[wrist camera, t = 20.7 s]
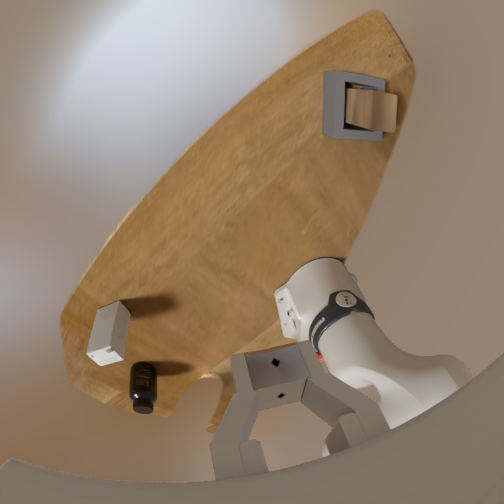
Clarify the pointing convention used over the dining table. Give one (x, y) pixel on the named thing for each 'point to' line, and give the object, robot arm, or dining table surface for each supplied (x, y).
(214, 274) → the dining table surface
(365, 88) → the holder
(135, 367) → the supplement bottle
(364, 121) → the walnut peg
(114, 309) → the skincare box
